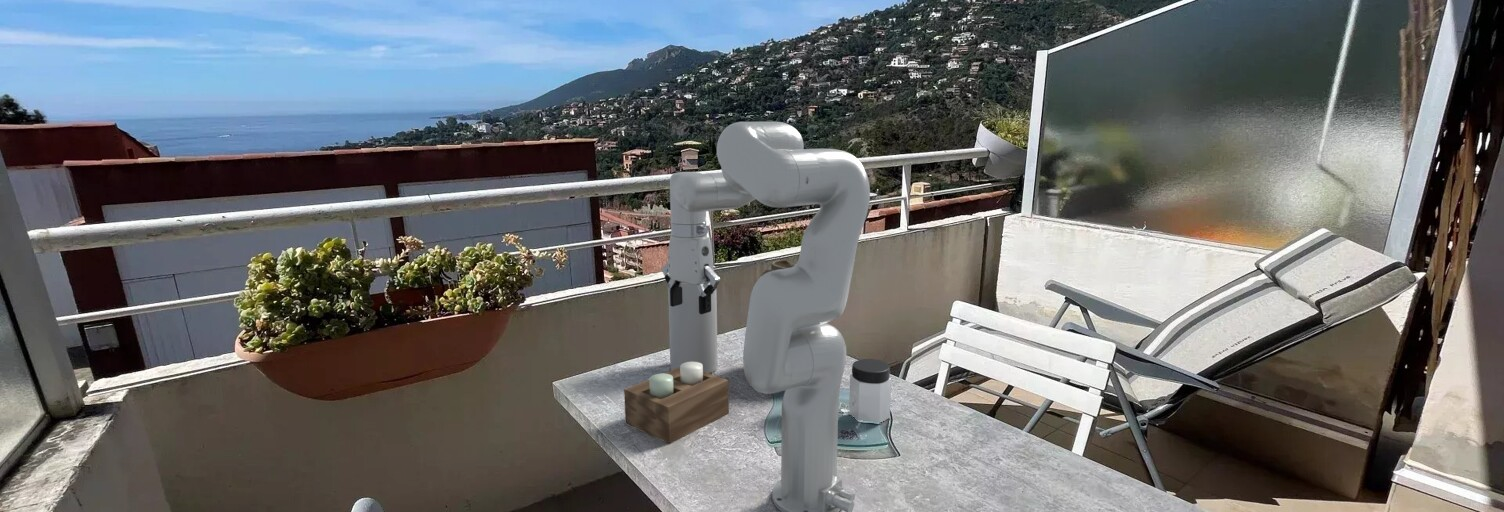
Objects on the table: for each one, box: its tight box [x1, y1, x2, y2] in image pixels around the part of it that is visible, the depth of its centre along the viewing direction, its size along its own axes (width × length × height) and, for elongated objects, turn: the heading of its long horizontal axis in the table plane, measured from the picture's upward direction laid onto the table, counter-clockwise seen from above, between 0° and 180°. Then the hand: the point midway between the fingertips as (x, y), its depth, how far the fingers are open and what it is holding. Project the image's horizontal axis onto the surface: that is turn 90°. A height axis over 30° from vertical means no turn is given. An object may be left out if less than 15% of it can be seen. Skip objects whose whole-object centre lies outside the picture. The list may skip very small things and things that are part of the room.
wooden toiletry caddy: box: [623, 367, 730, 445], centre depth 140 cm, size 14×18×8 cm
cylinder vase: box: [667, 282, 719, 374], centre depth 167 cm, size 12×12×25 cm
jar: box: [848, 358, 892, 423], centre depth 141 cm, size 9×8×12 cm
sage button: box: [648, 372, 674, 400], centre depth 136 cm, size 5×5×4 cm
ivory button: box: [680, 362, 703, 386], centre depth 143 cm, size 5×5×4 cm
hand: (690, 308), depth 139 cm, fingers open, 8 cm apart
